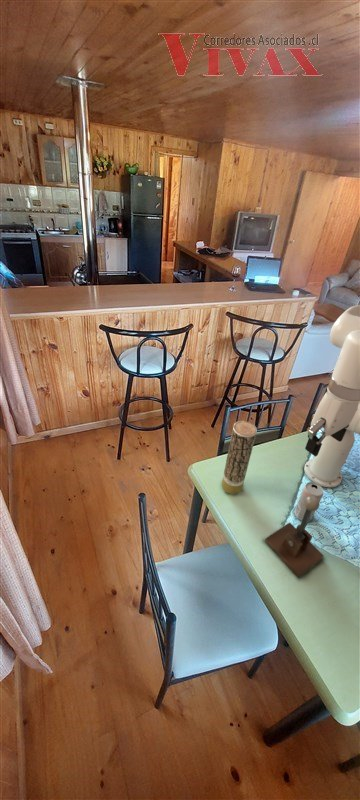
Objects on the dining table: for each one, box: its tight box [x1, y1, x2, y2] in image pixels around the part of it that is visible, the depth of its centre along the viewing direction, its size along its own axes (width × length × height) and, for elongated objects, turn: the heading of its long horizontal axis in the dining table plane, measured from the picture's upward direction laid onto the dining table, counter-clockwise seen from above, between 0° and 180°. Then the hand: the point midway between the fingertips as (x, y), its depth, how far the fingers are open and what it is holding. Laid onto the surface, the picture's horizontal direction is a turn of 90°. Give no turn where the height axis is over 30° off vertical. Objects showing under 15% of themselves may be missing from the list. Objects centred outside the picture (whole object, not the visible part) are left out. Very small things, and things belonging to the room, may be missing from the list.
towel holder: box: [264, 522, 325, 579], centre depth 89 cm, size 12×10×7 cm
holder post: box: [293, 496, 320, 544], centre depth 85 cm, size 17×4×4 cm
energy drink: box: [294, 481, 324, 522], centre depth 98 cm, size 5×5×12 cm
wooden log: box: [221, 420, 258, 495], centre depth 102 cm, size 7×7×25 cm
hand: (323, 445), depth 81 cm, fingers open, 9 cm apart
